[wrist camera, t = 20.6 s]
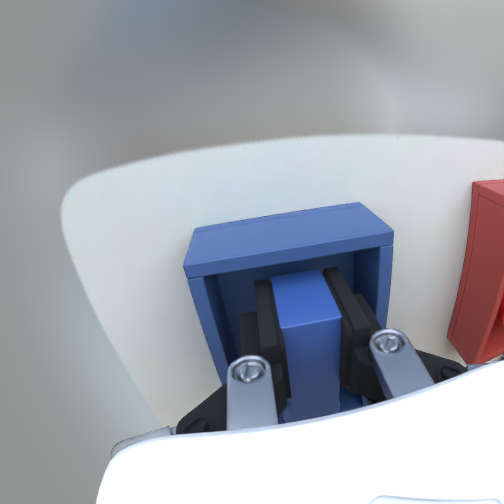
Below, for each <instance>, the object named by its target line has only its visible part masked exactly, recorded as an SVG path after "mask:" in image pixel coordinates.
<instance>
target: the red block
mask: <svg viewBox="0 0 504 504" xmlns="http://www.w3.org/2000/svg"><path fill="white" fill-rule="evenodd" d="M496 317H497V318H498V320H499V321H500V322H501V323H502V324H503V325H504V293H503V296H502V299H501V303H500V306H499V309H498V312H497V315H496Z"/></svg>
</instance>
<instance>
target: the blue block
mask: <svg viewBox="0 0 504 504" xmlns="http://www.w3.org/2000/svg"><path fill="white" fill-rule="evenodd" d="M270 279H271V282H272V287H273V292H274V298H275V303H276V308H277V314H278V319H279V325H280V328H282V331H283V336H284V342H285V348H286V356H287V364H288V372H289V380H290V388H291V396H292V398H289V399H286V401H287V407H286V408H285V410H284V411H283V412H282V416H283V419H284V420H285V421H286V422H287V423H291V422H297V421H303V420H308V419H313V418H318V417H323V416H328V415H332V414H337V413H338V411H339V408H340V402H339V389H340V380H339V366H340V339H341V317H342V315H341V313H340V311H339V309H338V306H337V304H336V302H335V300H334V298H333V296H332V294H331V292H330V289H329V287H328V285H327V283H326V281H325V279H324V277H323V275H322V273H321V271H320V269H314V270H308V271H303V272H297V273H291V274H285V275H279V276H273V277H271V278H270Z"/></svg>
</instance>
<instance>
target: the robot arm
mask: <svg viewBox="0 0 504 504" xmlns="http://www.w3.org/2000/svg"><path fill="white" fill-rule="evenodd" d="M322 275H323V277H324V279H325V281H326V283H327V285H328V287H329V289H330V292H331V294H332V296H333V298H334V300H335V302H336V304H337V306H338V309H339V311H340V313H341V315H342V317H341V339H340V366H339V380H340V383H341V385H342V388H345V387H347V389H348V392H349V394H353V393H357V394H359V395H362V402H363V405H364V407H362V408H358V409H354V410H350V411H346V412H341V413H337V414H332V415H328V416H323V417H318V418H313V419H308V420H303V421H297V422H291V423H285V424H281V423H280V416H279V415H280V414H281V413H282V412H283V411H284V410H285V408H286V407H287V401H286V399H289V398H292V396H291V388H290V380H289V372H288V364H287V356H286V348H285V342H284V336H283V331H282V328H280V325H279V319H278V314H277V308H276V303H275V298H274V292H273V287H272V282H271V281H270V282H268V281H267V279H261V280H254V285H255V295H256V306H257V312H250V313H244V314H240V341H241V357H240V358H238V359H236V360H235V361H233V362H232V363H231V364H230V366H229V367H228V371H227V382H226V383H225V384H224V385H223V386H222V387H220V388H219V389H218V390H217V391H216V392H214V393H213V394H212V395H211V396H209V397H208V398H207V399H206V400H204V401H203V402H202V403H201V404H200V405H198V406H197V407H196V408H194V409H193V410H192V411H191V412H189V413H188V414H187V415H186V416H184V417H183V418H182V419H181V420H180V421H179V423H178V425H177V426H176V427H173V428H170V427H169V426H167V427H164V428H161V429H158V430H155V431H152V432H148V433H145V434H143V435H139V436H136V437H132V438H129V439H125V440H122V441H120V442H118V443H117V444H116V445H115V446H114V447H113V449H112V451H111V462H110V463H109V465H108V467H107V469H106V471H105V473H104V476H103V479H102V482H101V485H100V489H99V492H98V496H97V501H96V504H504V360H502V361H497V362H493V363H484V364H467V366H466V367H463V366H462V365H461V364H460V363H457V362H455V361H452V360H449V359H445V358H442V357H439V356H435V355H432V354H429V353H426V352H422V351H419V350H416V349H414V347H413V346H412V344H411V343H410V341H409V339H408V338H407V336H406V335H405V334H404V333H402V332H401V331H399V330H396V329H389V328H387V329H382V327H381V325H380V324H379V322H378V320H377V319H376V317H375V315H374V314H373V312H372V310H371V308H370V307H369V305H368V303H367V302H366V300H365V298H364V297H363V295H362V294H361V293H357V294H353V293H352V291H351V290H350V288H349V286H348V284H347V283H346V281H345V279H344V278H343V276H342V274H341V272H340V271H339V269H338V267H332V268H326V269H324V271H323V273H322Z"/></svg>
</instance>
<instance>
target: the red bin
mask: <svg viewBox="0 0 504 504" xmlns="http://www.w3.org/2000/svg"><path fill="white" fill-rule="evenodd" d="M503 293H504V180H490V181H477V182H473V191H472V205H471V216H470V225H469V234H468V241H467V248H466V254H465V260H464V266H463V271H462V277H461V282H460V286H459V291H458V295H457V300H456V304H455V308H454V312H453V316H452V320H451V323H450V327H449V330H448V334H447V338H448V339H449V341H451V343H452V345H453V346H454V347H455V349H456V350H457V352H458V353H459V354H460V356H461V357H462V358H463V360H464V361H465V363H466V364H483V363H485V362H487V361H489V360H491V359H493V358H495V357H497V356H499V355H501V354H503V353H504V325H503V324H502V323H501V322H500V321H499V320H498V318H497V317H496V315H497V312H498V309H499V306H500V303H501V299H502V296H503Z"/></svg>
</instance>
